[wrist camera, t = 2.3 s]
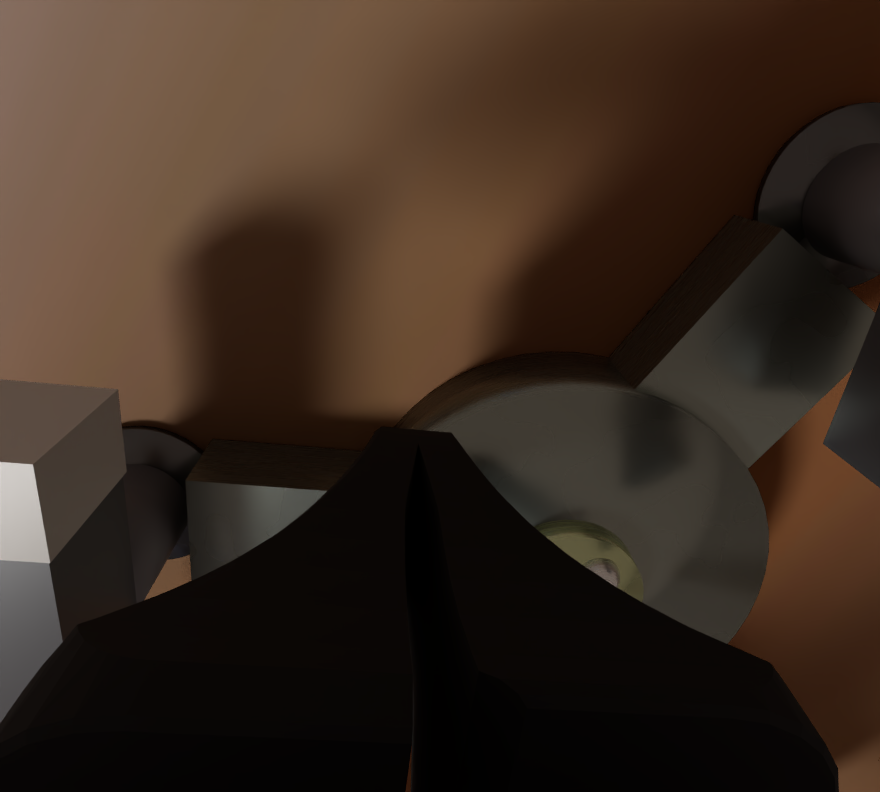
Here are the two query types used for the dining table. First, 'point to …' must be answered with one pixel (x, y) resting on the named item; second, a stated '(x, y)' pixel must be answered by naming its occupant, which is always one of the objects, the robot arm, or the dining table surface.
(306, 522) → the robot arm
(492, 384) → the levelling base
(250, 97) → the dining table surface
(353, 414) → the dining table surface
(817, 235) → the two-tone rectangular bar
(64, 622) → the post
